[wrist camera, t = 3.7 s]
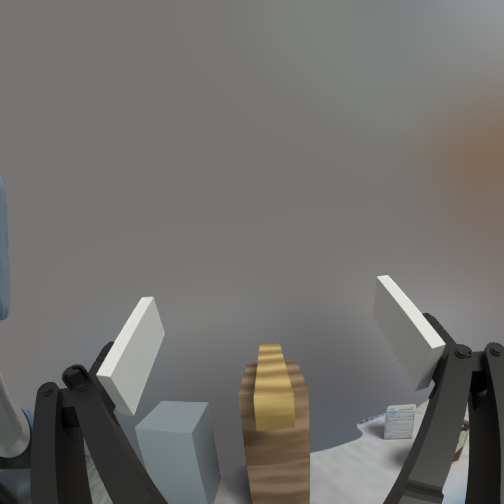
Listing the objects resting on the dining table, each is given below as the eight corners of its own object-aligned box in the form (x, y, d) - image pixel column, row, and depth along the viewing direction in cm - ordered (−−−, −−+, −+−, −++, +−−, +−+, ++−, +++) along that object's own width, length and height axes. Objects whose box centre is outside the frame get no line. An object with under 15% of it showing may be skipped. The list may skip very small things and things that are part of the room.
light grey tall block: (210, 514, 33) (191, 433, 36) (160, 508, 33) (134, 427, 36) (220, 476, 47) (208, 402, 50) (178, 473, 47) (162, 400, 50)
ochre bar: (295, 427, 24) (293, 394, 25) (256, 431, 25) (253, 398, 25) (280, 361, 54) (279, 342, 55) (261, 363, 54) (259, 344, 55)
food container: (452, 447, 38) (459, 412, 39) (463, 458, 32) (473, 421, 33) (407, 463, 40) (412, 428, 41) (415, 477, 34) (423, 440, 35)
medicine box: (412, 430, 53) (416, 403, 54) (412, 438, 49) (415, 410, 50) (385, 432, 57) (387, 405, 58) (383, 440, 53) (385, 412, 54)
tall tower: (309, 511, 32) (308, 388, 36) (253, 515, 33) (238, 394, 37) (300, 464, 50) (295, 359, 54) (257, 467, 50) (246, 364, 54)
